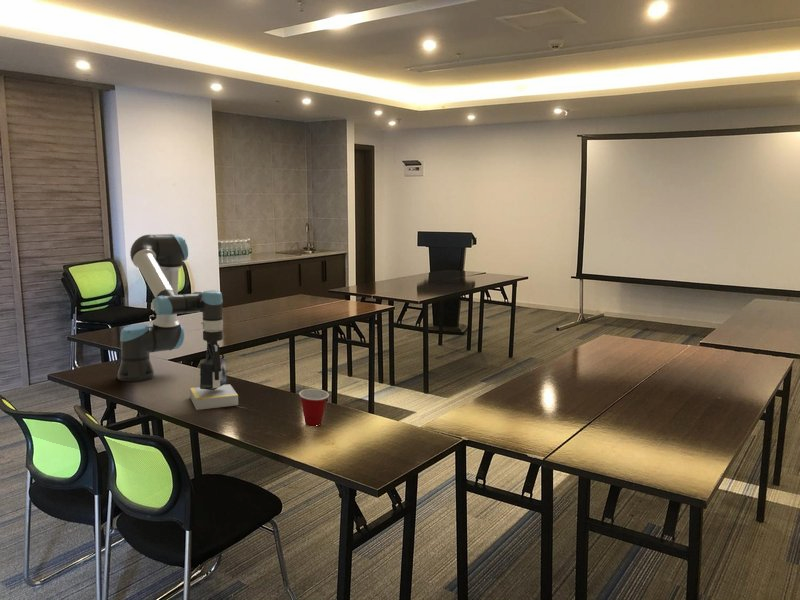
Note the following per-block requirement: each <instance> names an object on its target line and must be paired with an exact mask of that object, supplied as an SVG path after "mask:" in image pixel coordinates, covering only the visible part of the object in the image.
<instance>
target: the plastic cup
mask: <svg viewBox="0 0 800 600" xmlns="http://www.w3.org/2000/svg"><path fill="white" fill-rule="evenodd" d="M298 395H299V396H300V400H301V405H302V406H301V407H302V413H303V418H304V423H305V425H306V426H307V425H308V426H307V427H310V426H316V425H319V424H322V421H323V417H324V412H325V407H326V402H327V400H328V398H329V395H330V394H329V393H328V391H326V390H323V389H319V388H306V389H302V390H300V391H299V393H298ZM316 427H317V426H316Z"/></svg>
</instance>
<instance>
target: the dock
mask: <svg viewBox="0 0 800 600" xmlns="http://www.w3.org/2000/svg"><path fill="white" fill-rule="evenodd" d="M189 392H190V393H189V397H190V400H191V401H192V403H193V406H194V408H195V410H196V411H199V410H206V409H215V408H216V409H217V408H223V407H224V408H225V407H233V406H239V394H238V393H237V392H236V390H235V389H234V387H233V386H232V385H231V384H224V385H222V386H221V387H219V388H217V389H215V390H207V389H200V386H199V387H198V386H197V387H190V388H189Z"/></svg>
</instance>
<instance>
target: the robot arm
mask: <svg viewBox="0 0 800 600" xmlns="http://www.w3.org/2000/svg"><path fill="white" fill-rule="evenodd" d="M129 253H130V255H129V256H130V260H131V262H132V264H133V265H134V266H135V267H136V268H138V269H139V271H140V273H141V274H142V277H143V278H144V280H145V282H146V283H147V285H148V288H149V289H150V290H151V291H150V292H152V294H153V297H154V299H153V302H152V304H153V305H152V306H153V309H154V313H155V314H156V318H155V319H154V320H153V321H152V326H149V325H148V324H147V323H135V324H131V325H128V326H125V327H123V328H122V329H121V331H120V339H119V341H120V356H121V357H120V358H121V359H120V361H121V362H120V366H119V369H118V371H117V380H119V381H121V382H129V383H131V382H133V383H134V382H135V383H136V382H141V381H143V382H144V381H147V380H150V379H153V378H154V377H155V370H154V368H153V365H152V363H151V359H150V354H151V353H157V352H165V351H173V350H177V349H180V348H181V346H182V345H183V343H184V340H185V329H184V327H183V324H181V321H180V320H178V317H177V315H179V314H181V315H182V314H189V313H190V314H191V313H202V322H201V323H200V324H201V325H202V329H203V331H202V340H203V341H205V342H206V355H205V357H206V358H205V361H207V360H209V359H211V358H212V365H213V370H212V371H211V372H213V388H219V387H220V371H221V364H220V358H221V354H220V353H221V352H220V348H221V347H220V345H219V344H218V341H222V340H223V339H224V336H223V335H224V332H223V329H224V320H223V301H224V300H223V294H222V292H221V291H219V290H212V289H211V290H204V291H203V292H202V291H195V292H191V293H184V294H179V293H178V292H179V275H180V274H179V271H180V270H179V269H180V268H181V267H183V265H184V264H183V262H185V261H187V259H188V258H189V248H188V243H187V241H186V239H185V238H184V236H182V235H181V234H173V233H168V234H167V233H166V234H165V233H164V234H144V235H141V236H140V237H137V238H136V239H135V241H134V242H133V243H132V246H131V248H130V251H129Z"/></svg>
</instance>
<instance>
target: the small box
mask: <svg viewBox="0 0 800 600" xmlns="http://www.w3.org/2000/svg"><path fill="white" fill-rule="evenodd" d="M220 364H221V371H220V387H221V386H222V385H227V359H226V358H221V357H220ZM199 370H200V371H199V373H200V374H199V376H200V379H199V382H200V384H199V387H200V389H207V390H215V389H217V388H213V372H211V371H212V370H213V365H212V358H211V359H209V360H207V361H206V360H205V361H202V362H201V363H200V364H199Z"/></svg>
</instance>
